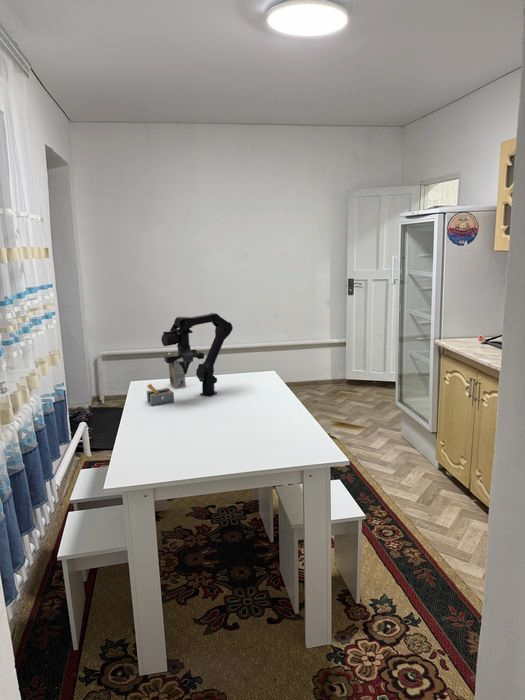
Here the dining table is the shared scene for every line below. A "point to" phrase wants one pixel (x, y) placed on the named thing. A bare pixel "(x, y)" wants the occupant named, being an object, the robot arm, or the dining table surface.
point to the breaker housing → (160, 397)
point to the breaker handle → (152, 388)
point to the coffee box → (176, 375)
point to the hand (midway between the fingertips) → (185, 374)
